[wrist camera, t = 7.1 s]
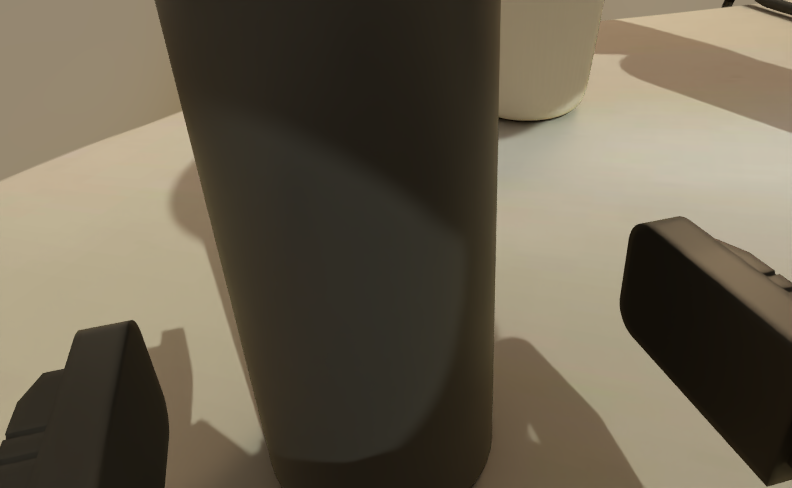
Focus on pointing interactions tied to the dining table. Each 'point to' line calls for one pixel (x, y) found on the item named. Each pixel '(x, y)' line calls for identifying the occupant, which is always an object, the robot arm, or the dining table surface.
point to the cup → (545, 56)
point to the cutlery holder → (353, 223)
